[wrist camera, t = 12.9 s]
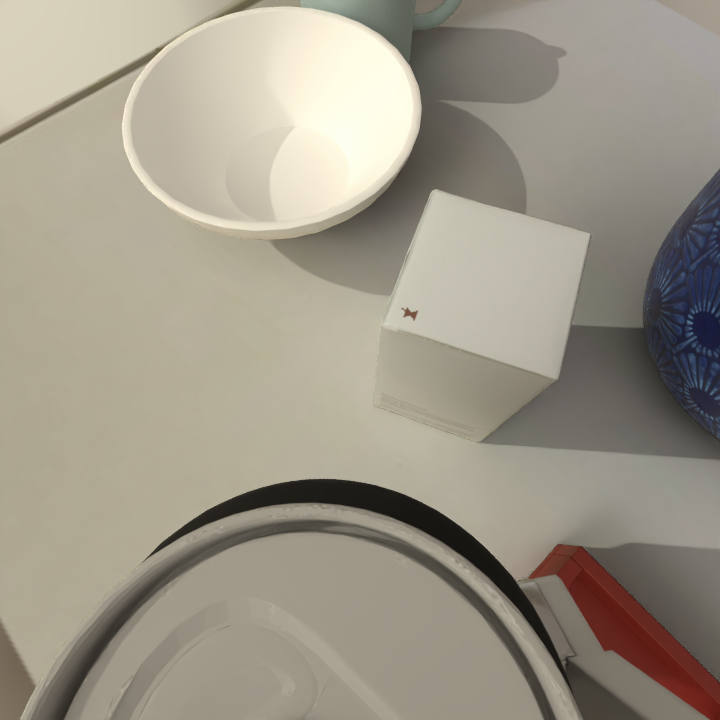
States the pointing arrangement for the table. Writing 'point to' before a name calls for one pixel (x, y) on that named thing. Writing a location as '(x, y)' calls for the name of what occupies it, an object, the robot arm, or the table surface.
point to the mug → (388, 17)
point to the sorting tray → (631, 628)
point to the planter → (689, 309)
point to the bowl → (272, 122)
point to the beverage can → (311, 621)
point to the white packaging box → (477, 315)
